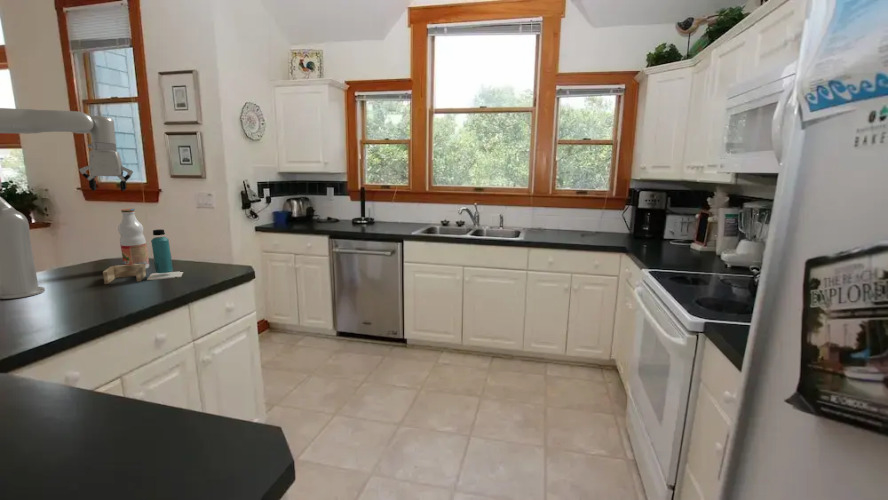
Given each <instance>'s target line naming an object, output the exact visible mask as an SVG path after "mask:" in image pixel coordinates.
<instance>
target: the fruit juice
mask: <svg viewBox="0 0 888 500" xmlns="http://www.w3.org/2000/svg"><path fill="white" fill-rule="evenodd" d="M120 212H121V214H122V221H121V223H120V224H119V225H118V233H119V235H120V238H119V244H120V250H121V251H120V252H121V257H122V262H123V265H135V264H145V267H146V269H148V268H149V267H150V260H149V253H148V247H147V240H146V237H145V235H144V229H145V228H144V226H143V224H142V223H141V222H139V220H138V219H137V217H136V214H135V213H136V209H135V208H123V209H121V210H120Z"/></svg>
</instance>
